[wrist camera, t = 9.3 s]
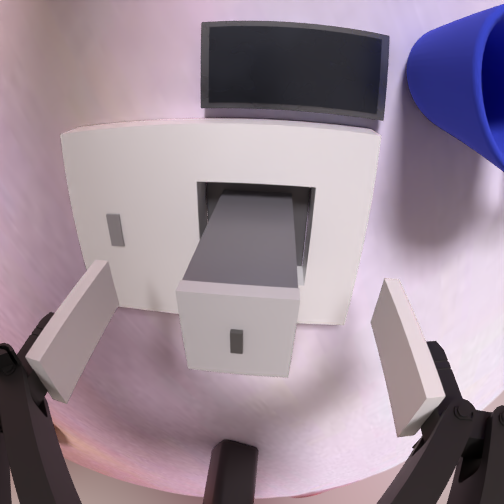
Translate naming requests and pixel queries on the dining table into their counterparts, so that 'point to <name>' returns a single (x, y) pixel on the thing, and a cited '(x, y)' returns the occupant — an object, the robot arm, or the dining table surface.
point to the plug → (242, 288)
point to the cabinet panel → (218, 179)
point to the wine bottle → (231, 474)
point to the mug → (463, 80)
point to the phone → (294, 68)
